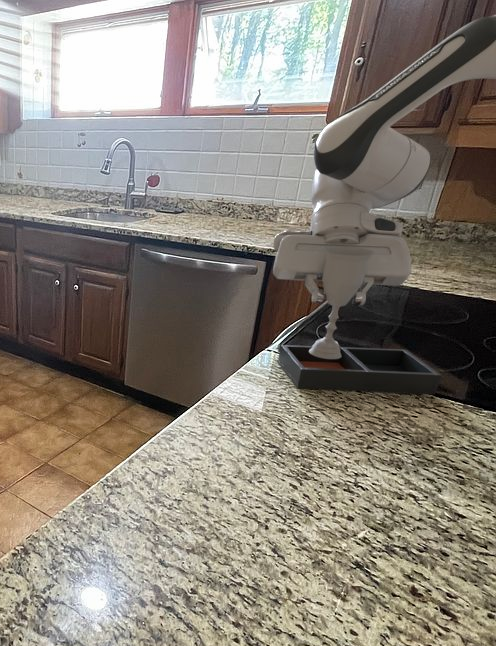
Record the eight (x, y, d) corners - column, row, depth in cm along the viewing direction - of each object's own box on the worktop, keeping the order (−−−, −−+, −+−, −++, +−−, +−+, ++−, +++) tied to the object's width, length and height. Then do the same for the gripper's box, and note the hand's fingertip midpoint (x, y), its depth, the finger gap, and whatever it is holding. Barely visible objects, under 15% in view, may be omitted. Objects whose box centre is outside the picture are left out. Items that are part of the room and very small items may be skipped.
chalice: (314, 342, 96) (336, 244, 89) (354, 353, 91) (381, 250, 84) (295, 353, 92) (317, 251, 85) (337, 365, 87) (363, 257, 80)
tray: (400, 367, 96) (406, 349, 95) (435, 394, 86) (442, 375, 85) (277, 362, 99) (280, 344, 98) (297, 388, 89) (301, 369, 88)
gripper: (277, 219, 92) (274, 288, 88) (414, 223, 86) (417, 297, 82) (270, 240, 98) (266, 306, 93) (398, 245, 92) (400, 315, 87)
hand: (338, 302), depth 87 cm, fingers closed on chalice, 5 cm apart
